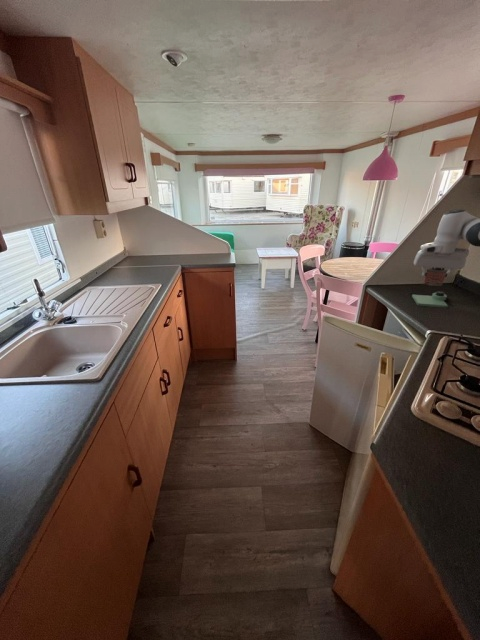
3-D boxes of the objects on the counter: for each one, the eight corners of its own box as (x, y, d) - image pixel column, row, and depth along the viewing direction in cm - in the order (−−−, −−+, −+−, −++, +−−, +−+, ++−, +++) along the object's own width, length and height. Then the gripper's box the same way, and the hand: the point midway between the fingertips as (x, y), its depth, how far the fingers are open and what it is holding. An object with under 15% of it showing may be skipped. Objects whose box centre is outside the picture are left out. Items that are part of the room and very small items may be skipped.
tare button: (442, 294, 137) (443, 291, 136) (444, 297, 135) (445, 293, 134) (434, 294, 138) (435, 291, 137) (436, 296, 135) (438, 293, 135)
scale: (442, 298, 139) (444, 293, 138) (451, 308, 129) (453, 302, 127) (411, 296, 143) (412, 290, 142) (417, 305, 133) (419, 299, 131)
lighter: (441, 284, 131) (448, 264, 126) (442, 286, 128) (449, 266, 124) (422, 282, 134) (428, 262, 129) (423, 284, 131) (429, 264, 127)
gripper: (467, 246, 123) (457, 275, 129) (417, 245, 128) (409, 273, 135) (473, 249, 117) (462, 279, 124) (420, 248, 123) (412, 276, 129)
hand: (434, 276), depth 129 cm, fingers closed on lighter, 7 cm apart
